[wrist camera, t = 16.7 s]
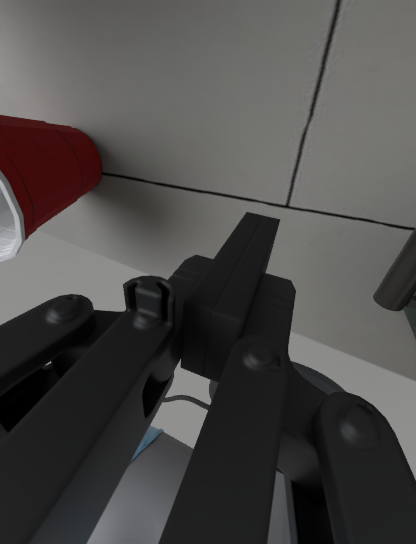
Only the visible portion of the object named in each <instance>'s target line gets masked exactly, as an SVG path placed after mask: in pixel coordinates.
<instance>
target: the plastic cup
mask: <svg viewBox="0 0 416 544" xmlns="http://www.w3.org/2000/svg"><path fill="white" fill-rule="evenodd" d="M101 174H102V165H101V159H100V155H99V153H98V151H97V149H96V147H95V145H94V144H93V142H92V141H91V140H90V139H89V138H88V137H87V135H86V134H84V133H83V132H81V131H79V130H78V129H76V128H72V127H70V126H64V125H57V124H49V123H46V122H44V121H38V120H31V119H24V118H17V117H10V116H4V115H0V261H4V260H7V259H11V258H14V257H15V256H16V255H17V254H18V252H19V250H20V248H21V246H22V245H23V243H24V241H25V240H26V239H28V237H29V235H31V234H32V233H33V232H35V231H36V229H37V228H38V227H40V226H41V225H42V224H44V223H45V222H47V221H48V220H50V219H51V218H53V217H54V216H55V215H57V214H58V213H60V212H61V211H63V210H64V209H66V208H67V207H68V206H70V205H71V204H73V203H74V202H76V201H77V199H78V198H80V197H81V196H83V195H84V194H86V193H87V192H89V191H91V190H92V189H93V188H94V187H95V186H96V185H97V184H98V182H99V181H100V179H101Z"/></svg>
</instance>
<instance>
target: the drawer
mask: <svg viewBox="0 0 416 544" xmlns="http://www.w3.org/2000/svg"><path fill="white" fill-rule="evenodd" d="M373 298H374V300H375V302H376V303H377V304H379V305H380V306H381V307H383V308H385V309H388V310H391V311H401V310H402V309H404V311H405V314H406V316H407V319H408V321H409V323H410V326H411V328H412V331H413V333H414V336H415V338H416V228H415V229H414V231H413V233H412V234H411V236H410V237H409V239H408V241H407V242H406V244H405V246H404V247H403V249H402V250H401V252H400V254H399V255H398V257H397V258H396V260H395V262H394V263H393V265H392V266H391V268H390V270H389V271H388V273H387V274H386V276H385V278H384V279H383V281H382V282H381V284H380V286H379V287H378V289H377V290H376V292H375V294H374V295H373Z"/></svg>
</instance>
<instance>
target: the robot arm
mask: <svg viewBox="0 0 416 544" xmlns="http://www.w3.org/2000/svg"><path fill="white" fill-rule="evenodd" d="M279 222H280V219H276V218H271V217H267V216H262V215H258V214H254V213H249V212H246V214H245V215H244V217H243V218H242V219H241V221H240V222H239V224H238V225H237V227H236V228H235V229H234V231H233V232H232V234H231V235H230V237H229V238H228V239H227V241H226V242H225V244H224V245H223V247H222V248H221V249H220V251H219V252H218V254H217V255H216V256H215V258H214V259H210V258H206V257H203V256H199V255H194V256H192V257H190V258H188V259H186V260H185V261H184V262H183V263H182V264H181V265H180V266H179V268H178V269H177V270H176V271H175V272H174V273H173V275H172V276H171V277H170V278H169V279H168V280H166V279H164V278H162V277H157V276H140V277H137V278H133V279H131V280H129V281H127V282H126V283H124V284H123V288H124V295H125V303H126V310H125V311H124V312H114V311H101V310H94V309H93V305H92V302H91V301H90V300H89V299H88V298H87V297H84V296H82V295H75V294H69V295H62V296H58V297H56V298H53V299H51V300H48V301H46V302H45V303H43V304H41V305H39V306H37V307H35V308H33V309H31V310H29V311H27V312H25V313H23V314H21V315H19V316H18V317H15V318H14V319H11V320H10V321H8V322H6V323H4V324H2V325H0V544H416V480H415V478H414V475H413V473H412V471H411V469H410V466H409V464H408V462H407V459H406V457H405V455H404V453H403V450H402V448H401V446H400V444H399V441H398V439H397V437H396V434H395V432H394V431H393V429H392V427H391V426H390V424H389V423H388V421H387V419H386V418H385V417H384V416H383V415H382V414H381V413H380V412H379V411H378V410H377V409H376V408H375V407H374V406H373V405H372V404H370V403H369V402H367V401H366V400H364V399H363V398H361V397H360V396H357V395H354V394H351V393H348V392H334V393H332V394H331V395H329V396H328V395H327V394H326V393H324V392H323V391H321V390H320V389H318V388H317V387H315V386H314V385H312V384H311V383H310V382H308V381H307V380H306V379H305V378H303V377H302V376H301V375H300V374H299V373H298V371H297V370H296V369H295V368H294V366H293V364H292V363H291V361H290V358H289V355H288V344H289V336H290V329H291V322H292V315H293V308H294V301H295V294H296V290H295V288H294V286H293V284H292V282H291V280H288V279H284V278H280V277H277V276H273V275H270V274H266V273H265V272H266V269H267V265H268V262H269V258H270V254H271V251H272V247H273V244H274V240H275V237H276V233H277V229H278V226H279ZM180 359H181V368H183V369H186V370H188V371H191V372H193V373H195V374H198V375H200V376H203V377H205V378H208V379H210V380H213V381H215V382H217V383H218V386H217V388H216V391H215V394H214V396H213V399H212V402H211V405H208V404H205V403H204V402H201V401H200V400H197V399H195V398H193V397H190V396H186V395H177V396H172V397H168V398H165V396H166V394H167V392H168V390H169V389H170V387H171V385H172V382H173V378H174V370H175V368H176V366H177V364H178V363H179V361H180ZM50 361H51V364H49V365H46V364H47V363H48V362H50ZM174 400H187V401H190V402H193V403H195V404H197V405H199V406H200V407H203V408H205V409H207V410H208V413H207V415H206V418H205V420H204V423H203V426H202V428H201V431H200V434H199V437H198V439H197V442H196V444H195V447H194V449H193V448H191V447H189V446H187V445H186V444H184V443H182V442H180V441H179V440H177V439H175V438H173V437H171V436H170V435H168V434H166V433H164V432H163V430H162V429H156V428H154V427H152V426H150V424H151V422H152V420H153V419H154V417H155V415H156V413H157V411H158V409H159V407H160V405H161V403H162V402H170V401H174Z"/></svg>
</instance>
